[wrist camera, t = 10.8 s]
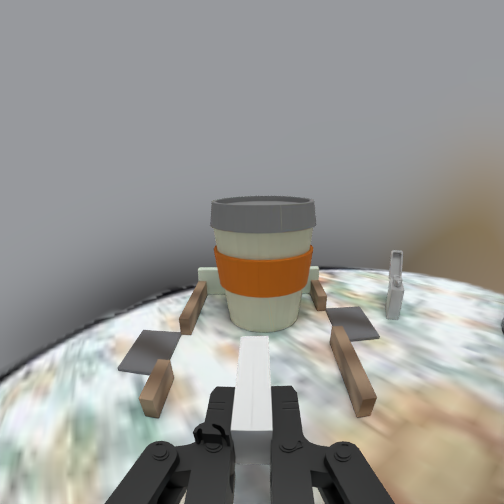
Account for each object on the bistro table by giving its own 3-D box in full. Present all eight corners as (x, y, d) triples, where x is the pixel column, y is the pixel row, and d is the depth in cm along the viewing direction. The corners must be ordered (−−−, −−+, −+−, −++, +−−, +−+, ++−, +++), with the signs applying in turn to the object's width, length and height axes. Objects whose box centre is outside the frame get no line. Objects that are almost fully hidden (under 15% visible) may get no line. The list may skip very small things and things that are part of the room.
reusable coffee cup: (258, 288, 45) (256, 194, 41) (327, 310, 37) (334, 199, 33) (197, 317, 36) (187, 202, 32) (272, 353, 28) (273, 208, 24)
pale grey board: (317, 292, 43) (319, 268, 42) (200, 294, 43) (197, 270, 42) (316, 289, 44) (317, 266, 43) (201, 291, 44) (199, 267, 43)
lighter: (398, 320, 33) (408, 262, 31) (386, 318, 33) (396, 261, 31) (394, 298, 39) (402, 248, 37) (384, 297, 40) (391, 247, 38)
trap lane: (420, 403, 18) (428, 386, 18) (96, 405, 19) (88, 387, 18) (345, 288, 44) (346, 276, 43) (172, 290, 45) (170, 278, 44)
